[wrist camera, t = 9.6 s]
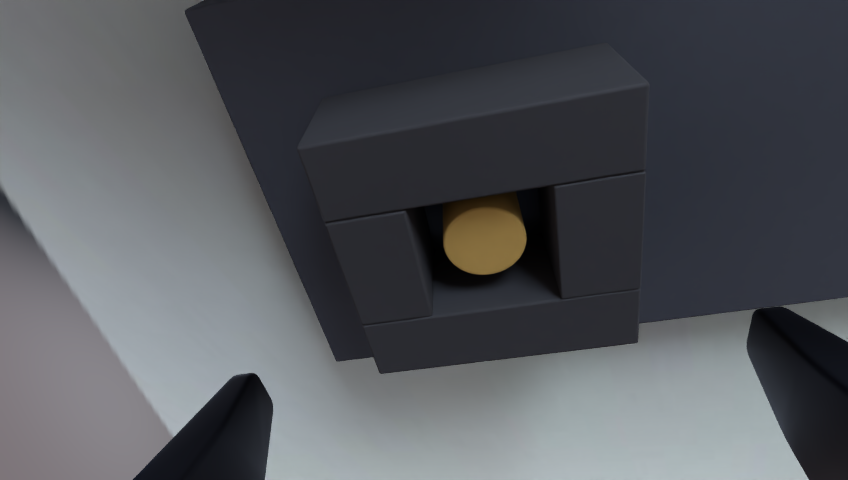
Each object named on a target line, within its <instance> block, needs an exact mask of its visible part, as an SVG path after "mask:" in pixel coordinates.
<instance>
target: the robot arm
mask: <svg viewBox="0 0 848 480" xmlns="http://www.w3.org/2000/svg"><path fill="white" fill-rule="evenodd" d="M747 351H748V355H749V358H750V360H751V362H752V364H753V367H754V369H755V371H756V373H757V376H758V378H759V380H760V383H761V385H762V387H763V389H764V392H765V394H766V396H767V398H768V401H769V403H770V405H771V407H772V410H773V412H774V414H775V416H776V419H777V421H778V423H779V425H780V428H781V430H782V432H783V434H784V436H785V438H786V440H787V442H788V444H789V445H790V447H791V449H792V451H793V453H794V454H795V456H796V458H797V460H798V461H799V463H800V465H801V467H802V468H803V470H804V472H805V473H806V475H807V477H808V479H809V480H848V342H847V341H845V340H843V339H841V338H839V337H838V336H836V335H834V334H832V333H830V332H829V331H827V330H825V329H823V328H821V327H820V326H818V325H816V324H814V323H812V322H810V321H809V320H807V319H805V318H803V317H801V316H800V315H798V314H796V313H794V312H792V311H791V310H789V309H787V308H784V307H780V306H778V307H769V308H761V309H757V310H756V311H755V312H754V313H753V315H752V319H751V324H750V329H749V334H748V338H747ZM272 416H273V403H272V400H271V398H270V396H269V394H268V392H267V391H266V389H265V387H264V385H263V384H262V382H261V380H260V378H259V377H258V376H257V375H256V374H254V373H248V374H240V375H236V376H233V377H232V378H231V379H230V380H229V381H228V382H227V383H226V384H225V385H224V386H223V387H222V388H221V389H220V390H219V391H218V392H217V393H216V394H215V395H214V396H213V397H212V398H211V399H210V400H209V401H208V403H207V404H206V405H205V406H204V407H203V408H202V409H201V410H200V411H199V412H198V413H197V414H196V415H195V416H194V417H193V418H192V419H191V420H190V421H189V422H188V423H187V424H186V425H185V426H184V427H183V428H182V429H181V430H180V431H179V432H178V434H177V435H176V436H175V437H174V438H173V439H172V440H171V441H170V442H169V443H168V444H167V445H166V446H165V447H164V448H163V449H162V450H161V451H160V452H159V453H158V454H157V455H156V456H155V457H154V459H152V460H151V461H150V463H149V464H148V465H147V466H146V467H145V468H144V469H143V470H142V471H141V472H140V473H139V474H138V475H137V476H136V477H135V478H134V479H133V480H265V474H266V465H267V457H268V449H269V441H270V432H271V424H272Z"/></svg>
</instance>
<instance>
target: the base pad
mask: <svg viewBox="0 0 848 480" xmlns="http://www.w3.org/2000/svg"><path fill="white" fill-rule="evenodd" d="M185 14H186V17H187V19H188V21H189V24H190V26H191V28H192V31H193V33H194V35H195V37H196V40H197V42H198V44H199V47H200V49H201V51H202V53H203V56H204V58H205V60H206V63H207V65H208V67H209V70H210V72H211V74H212V76H213V79H214V81H215V83H216V86H217V88H218V90H219V93H220V95H221V97H222V99H223V102H224V104H225V106H226V109H227V111H228V113H229V116H230V118H231V120H232V122H233V125H234V127H235V129H236V132H237V134H238V136H239V139H240V141H241V143H242V145H243V148H244V150H245V152H246V155H247V157H248V159H249V161H250V164H251V166H252V168H253V171H254V173H255V175H256V178H257V180H258V182H259V184H260V187H261V189H262V191H263V194H264V196H265V198H266V201H267V203H268V205H269V207H270V210H271V212H272V214H273V217H274V219H275V221H276V224H277V226H278V228H279V230H280V233H281V235H282V237H283V240H284V242H285V244H286V247H287V249H288V251H289V253H290V256H291V258H292V260H293V263H294V265H295V267H296V269H297V272H298V274H299V276H300V279H301V281H302V283H303V286H304V288H305V290H306V292H307V295H308V297H309V299H310V302H311V304H312V306H313V309H314V311H315V313H316V315H317V318H318V320H319V322H320V325H321V327H322V329H323V332H324V334H325V336H326V338H327V341H328V343H329V345H330V348H331V350H332V352H333V355H334V357H335V359H336V361H346V360H354V359H362V358H369V357H373V354H372V351H371V349H370V346H369V343H368V341H367V338H366V335H365V332H364V330H363V327H362V324H361V322H360V319H359V316H358V313H357V311H356V308H355V305H354V303H353V300H352V297H351V295H350V292H349V289H348V287H347V284H346V281H345V278H344V276H343V273H342V270H341V268H340V265H339V262H338V260H337V257H336V254H335V252H334V249H333V246H332V243H331V241H330V238H329V235H328V233H327V230H326V227H325V222H324V221H323V219H322V216H321V213H320V211H319V208H318V205H317V202H316V200H315V197H314V194H313V192H312V189H311V186H310V184H309V181H308V178H307V175H306V173H305V170H304V167H303V165H302V162H301V159H300V157H299V154H298V151H297V146H298V144H299V142H300V140H301V138H302V136H303V135H304V133H305V131H306V129H307V127H308V125H309V123H310V121H311V120H312V118H313V116H314V114H315V112H316V110H317V108H318V106H319V105H320V103H321V101H322V99H323V98H325V97H330V96H335V95H341V94H346V93H351V92H356V91H361V90H366V89H371V88H376V87H381V86H386V85H392V84H397V83H402V82H407V81H412V80H417V79H422V78H427V77H432V76H437V75H443V74H448V73H453V72H458V71H463V70H468V69H473V68H478V67H483V66H488V65H494V64H499V63H504V62H509V61H514V60H519V59H524V58H529V57H534V56H539V55H545V54H550V53H555V52H560V51H565V50H570V49H575V48H580V47H585V46H590V45H596V44H601V43H608V44H609V45H610V46H611V47H612V48H613V49H614V50H615V51H616V52H617V53H618V54H619V55H620V56H621V57H622V58H624V59H625V60H626V61H627V62H628V63H629V64H630V65H631V66H632V67H633V68H634V69H635V70H636V71H637V72H638V73H639V74H640V75H641V76H642V77H643V78H645V79H646V80H647V81H648V83H649V106H648V128H647V150H646V167H645V172H646V186H645V208H644V230H643V252H642V274H641V288H640V311H639V323H647V322H655V321H663V320H671V319H679V318H687V317H695V316H703V315H710V314H718V313H726V312H734V311H742V310H750V309H758V308H766V307H774V306H782V305H790V304H798V303H806V302H814V301H821V300H829V299H837V298H845V297H848V0H204V1H202V2H200V3H198V4H196V5H194V6H192V7H190V8H188V9H187V10H185ZM424 209H425V213H426V217H427V221H428V226H429V230H430V234H431V238H432V243H433V247H434V249H437V248H444V250H445V253H446V255H447V257H448V258H449V260H450V261H451V262H452V263H453V264H454V265H455V266H456V267H458V268H459V269H461V270H463V271H465V272H468V273H472V274H478V275H488V274H494V273H498V272H501V271H503V270H505V269H507V268H509V267H510V266H512V265H513V264H514V263H515V262H516V261H517V260H518V259H519V258H520V257H521V255H522V253H523V251H524V249H525V246H526V241H527V236H526V235H530V234H536V233H542V231H541V220H540V209H539V197H538V188H534V189H528V190H522V191H516V192H509V193H503V194H497V195H491V196H485V197H479V198H473V199H466V200H460V201H454V202H448V203H442V204H436V205H430V206H424Z"/></svg>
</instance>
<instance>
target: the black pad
mask: <svg viewBox="0 0 848 480" xmlns="http://www.w3.org/2000/svg"><path fill="white" fill-rule="evenodd" d="M648 106H649V83H648V81H647V80H646V79H645V78H643V77H642V76H641V75H640V74H639V73H638V72H637V71H636V70H635V69H634V68H633V67H632V66H631V65H630V64H629V63H628V62H627V61H626V60H625V59H624V58H622V57H621V56H620V55H619V54H618V53H617V52H616V51H615V50H614V49H613V48H612V47H611V46H610V45H609V44H608V43H601V44H596V45H590V46H585V47H580V48H575V49H570V50H565V51H560V52H555V53H550V54H545V55H539V56H534V57H529V58H524V59H519V60H514V61H509V62H504V63H499V64H494V65H488V66H483V67H478V68H473V69H468V70H463V71H458V72H453V73H448V74H443V75H437V76H432V77H427V78H422V79H417V80H412V81H407V82H402V83H397V84H392V85H386V86H381V87H376V88H371V89H366V90H361V91H356V92H351V93H346V94H341V95H335V96H330V97H325V98H323V99H322V101H321V103H320V105H319V106H318V108H317V110H316V112H315V114H314V116H313V118H312V120H311V121H310V123H309V125H308V127H307V129H306V131H305V133H304V135H303V136H302V138H301V140H300V142H299V144H298V146H297V151H298V154H299V157H300V159H301V162H302V165H303V167H304V170H305V173H306V175H307V178H308V181H309V184H310V186H311V189H312V192H313V194H314V197H315V200H316V202H317V205H318V208H319V211H320V213H321V216H322V219H323V221H324V222H325V227H326V230H327V233H328V235H329V238H330V241H331V243H332V246H333V249H334V252H335V254H336V257H337V260H338V262H339V265H340V268H341V270H342V273H343V276H344V278H345V281H346V284H347V287H348V289H349V292H350V295H351V297H352V300H353V303H354V305H355V308H356V311H357V313H358V316H359V319H360V322H361V324H362V327H363V330H364V332H365V335H366V338H367V341H368V343H369V346H370V349H371V351H372V354H373V357H374V359H375V362H376V365H377V367H378V370H379V373H381V374H384V373H392V372H400V371H409V370H417V369H425V368H434V367H442V366H450V365H459V364H467V363H475V362H484V361H492V360H500V359H508V358H517V357H525V356H533V355H542V354H550V353H558V352H567V351H575V350H583V349H592V348H600V347H608V346H616V345H625V344H633V343H637V342H638V333H639V311H640V288H641V274H642V252H643V230H644V208H645V186H646V172H645V167H646V150H647V128H648ZM534 188H538V197H539V209H540V220H541V231H542V233H536V234H530V235H526V236H527V241H526V246H525V249H524V251H523V253H522V255H521V257H520V258H519V259H518V260H517V261H516V262H515V263H514V264H513V265H512V266H510V267H509V268H507V269H505V270H503V271H501V272H498V273H494V274H488V275H478V274H472V273H468V272H465V271H463V270H461V269H459V268H458V267H456V266H455V265H454V264H453V263H452V262H451V261H450V260H449V258H448V257H447V255H446V253H445V250H444V248H437V249H434V247H433V243H432V238H431V234H430V230H429V226H428V221H427V217H426V213H425V209H424V206H430V205H436V204H442V203H448V202H454V201H460V200H466V199H473V198H479V197H485V196H491V195H497V194H503V193H509V192H516V191H522V190H528V189H534Z"/></svg>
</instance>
